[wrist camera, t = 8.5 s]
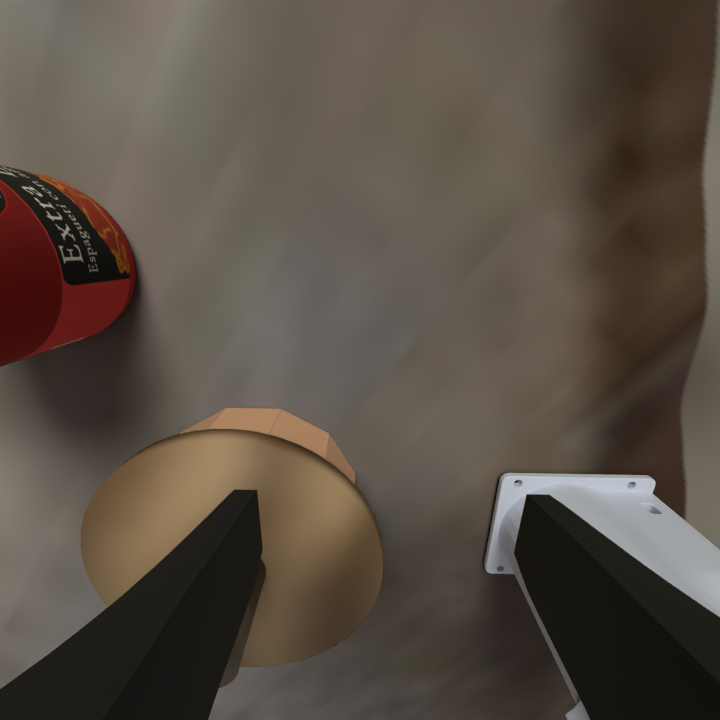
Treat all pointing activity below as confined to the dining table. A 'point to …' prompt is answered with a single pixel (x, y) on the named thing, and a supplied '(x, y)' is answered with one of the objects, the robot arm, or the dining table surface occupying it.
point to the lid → (278, 529)
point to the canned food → (57, 265)
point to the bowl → (279, 431)
